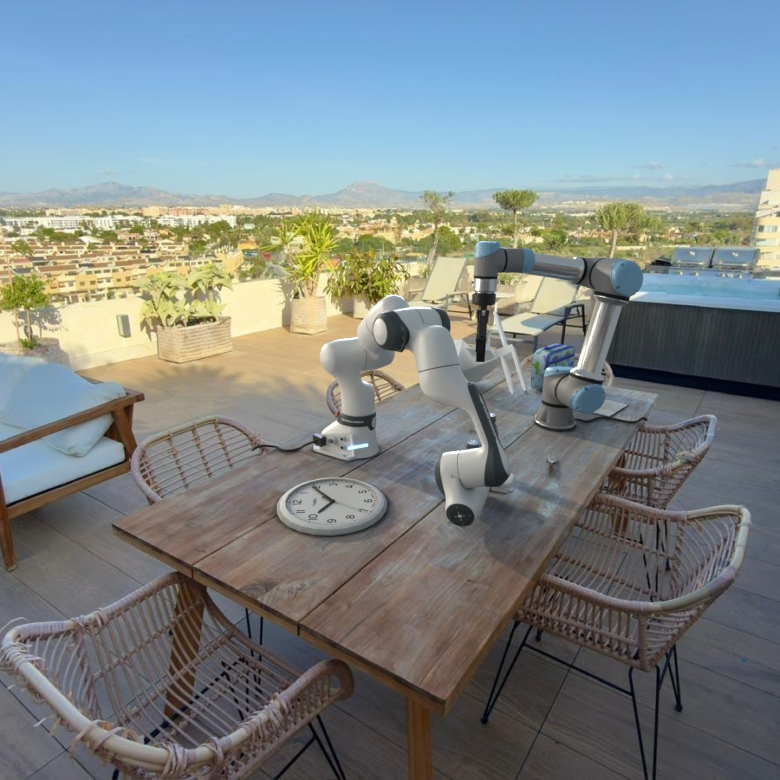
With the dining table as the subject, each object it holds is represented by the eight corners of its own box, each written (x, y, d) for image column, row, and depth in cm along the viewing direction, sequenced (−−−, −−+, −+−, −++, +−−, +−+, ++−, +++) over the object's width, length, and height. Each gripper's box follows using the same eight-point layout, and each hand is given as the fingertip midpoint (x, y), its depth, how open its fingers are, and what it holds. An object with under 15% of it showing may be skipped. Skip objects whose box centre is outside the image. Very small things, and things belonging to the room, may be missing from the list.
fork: (545, 476, 161) (545, 470, 161) (548, 456, 176) (549, 450, 175) (553, 477, 160) (554, 471, 160) (556, 457, 175) (557, 452, 174)
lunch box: (547, 395, 239) (552, 351, 233) (526, 390, 247) (530, 347, 240) (574, 384, 257) (579, 343, 251) (554, 380, 264) (558, 339, 258)
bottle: (492, 477, 160) (497, 419, 155) (476, 474, 162) (480, 416, 157) (497, 471, 165) (502, 413, 159) (481, 467, 167) (485, 411, 161)
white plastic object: (461, 429, 252) (437, 405, 227) (444, 352, 274) (420, 323, 250) (535, 404, 240) (518, 377, 215) (510, 326, 262) (492, 293, 237)
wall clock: (392, 527, 129) (268, 531, 127) (391, 533, 130) (269, 537, 127) (383, 473, 158) (282, 475, 155) (383, 478, 158) (282, 480, 156)
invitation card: (608, 416, 214) (573, 407, 224) (608, 416, 214) (573, 408, 224) (628, 404, 229) (594, 396, 238) (628, 405, 229) (594, 397, 238)
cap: (469, 443, 185) (469, 439, 185) (480, 446, 183) (480, 441, 183) (465, 448, 182) (465, 443, 181) (477, 450, 180) (477, 445, 179)
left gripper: (513, 483, 136) (520, 462, 149) (437, 470, 143) (450, 451, 156) (511, 505, 138) (518, 482, 151) (436, 491, 145) (449, 470, 157)
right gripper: (472, 287, 179) (468, 348, 185) (472, 296, 155) (468, 365, 161) (494, 288, 178) (489, 349, 184) (498, 297, 154) (492, 366, 160)
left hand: (483, 466), depth 153 cm, fingers open, 8 cm apart
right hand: (479, 356), depth 173 cm, fingers open, 13 cm apart
